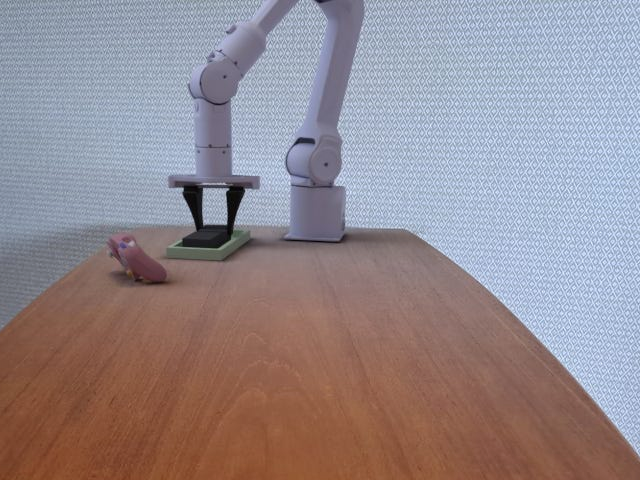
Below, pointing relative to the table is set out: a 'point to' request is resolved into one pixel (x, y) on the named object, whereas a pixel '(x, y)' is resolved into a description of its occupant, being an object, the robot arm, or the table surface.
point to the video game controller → (134, 258)
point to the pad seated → (202, 240)
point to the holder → (208, 253)
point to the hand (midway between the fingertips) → (215, 234)
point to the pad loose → (218, 229)
